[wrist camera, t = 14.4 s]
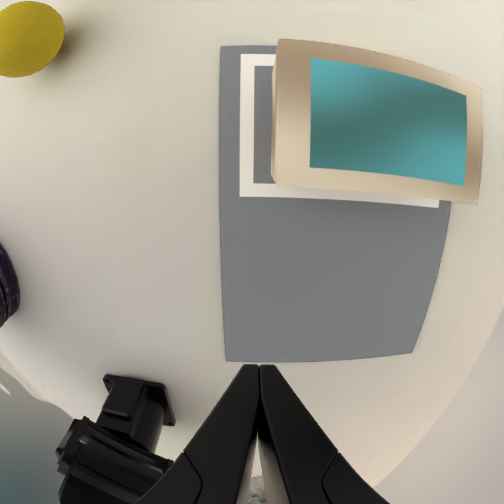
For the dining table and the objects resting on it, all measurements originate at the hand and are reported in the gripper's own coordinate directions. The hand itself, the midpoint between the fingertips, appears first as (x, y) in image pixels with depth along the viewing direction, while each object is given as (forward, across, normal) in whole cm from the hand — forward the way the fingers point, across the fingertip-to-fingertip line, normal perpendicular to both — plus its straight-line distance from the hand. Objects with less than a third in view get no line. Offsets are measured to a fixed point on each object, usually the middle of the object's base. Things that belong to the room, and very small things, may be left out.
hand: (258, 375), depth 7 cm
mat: (+12, -6, -2) cm, 13 cm away
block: (+5, -6, -7) cm, 11 cm away
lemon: (+12, +15, -15) cm, 25 cm away
